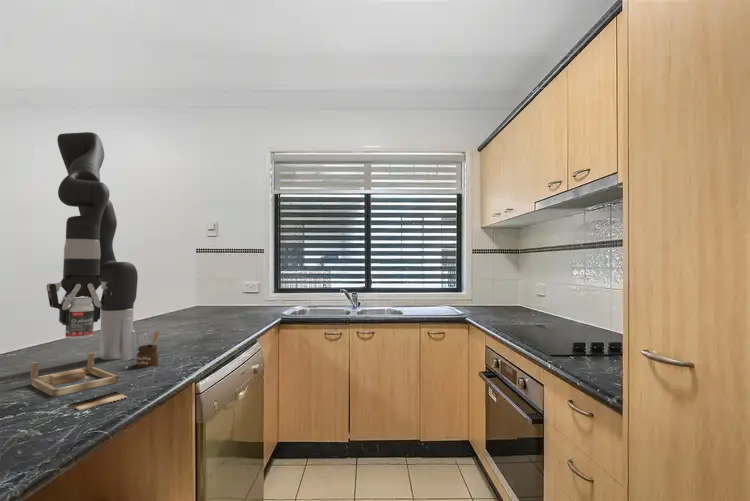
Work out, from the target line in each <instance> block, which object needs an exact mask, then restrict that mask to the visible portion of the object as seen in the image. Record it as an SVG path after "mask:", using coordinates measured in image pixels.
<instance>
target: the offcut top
mask: <svg viewBox="0 0 750 501" xmlns="http://www.w3.org/2000/svg"><path fill="white" fill-rule="evenodd" d="M79 369H80V370H76V369H73V370H74V371H70V370H68V371H69V372H65V371H62V372H63V373H60V372H57V373H58V374H55V373H51V374H52V375H50V374H49V375H50V381H49V382H50V383H51V384H53V386H56V385H55V384H58V385H61V384H60V383H63V384H66V383H65V382H67V383H71V382H70V381H72V382H76V381H75V380H77V381H81V380H80V379H82V380H85V375H86V374H85V371H84V370H82V369H81V368H79Z"/></svg>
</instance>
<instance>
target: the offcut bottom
mask: <svg viewBox="0 0 750 501" xmlns="http://www.w3.org/2000/svg"><path fill="white" fill-rule="evenodd" d="M90 378H91V377H90V376H87V374H85V379H90ZM85 379H84V380H85ZM81 380H83V379H80V380H79V381H81ZM76 381H77V382H78V380H75V381H74V382H76ZM72 382H73V381H70V382H69V383H72ZM45 383H46V384H48V385H50V386H52V387H54V386H58V385H63V384H66V383H68V382H65V383H60V384H55V385H53V384H51V383H50V381H49V382H45Z"/></svg>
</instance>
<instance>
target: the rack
mask: <svg viewBox="0 0 750 501" xmlns="http://www.w3.org/2000/svg"><path fill="white" fill-rule="evenodd" d="M80 369H82V370H84V371H85V375H87V374H92V375H94V376H97V377H99V379H96V380H91V381H90V380H89V381H87V382H86V381H85V382H81V383H77V384H76V383H75V384H72V385H71V384H70V385H68V386H63V387H59V388H56V387H55V386H50V385H48V384H46V383H48V382H50V375H52V374H53V373H50V374H46V375H45V374H44V375H40V376H39V362H38V361H34V362H30V379H29V380H30V382H29V383H30V385H31V386H33V387H34V388H35V389H38V390H40V391H41V392H43V393H44V394H47V395H49V396H51V397H52V398H56V397H61V396H64V395H69V394H75V393H78V392H81V391H83V392H84V391H86V390H91V389H94V388H95V389H96V388H99V387H104V386H107V385H112V384H116V383H119V375H116V374H115V373H111V372H109V371H107V370H106V371H105V370H103V369H101V368H98V367H95V353H94V352H87V367H81V368H77V369H71V370H65V371H61V372H56V373H54V374H58V373H63V372H69V371H74V370H80Z"/></svg>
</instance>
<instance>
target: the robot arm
mask: <svg viewBox="0 0 750 501" xmlns="http://www.w3.org/2000/svg"><path fill="white" fill-rule="evenodd" d="M56 139H57V146H58V151H59V153H60V156H61V158H62V161H63V164H64V167H65V170H66V172H67V176H65V177H64V178H63V179H62V181H60V184H59V186H58V189H57V196H58V199H59V200H60V202H61V203H62V204H64V205H65V206H68V207H75V208H78V212H79V215H74V216H70V217H68V218H67V219H66V223H65V224H66V226H65V227H66V228H65V241H64V242H65V243H64V248H63V269H62V273H63V274H62V279H61V281H60V282H57V283H47V285H46V292H47V298H48V303H49V307H51V308H54V309H58V311H59V312H58V313H59V314H58V322H59V323H60V324H61V325H63V326H66V325H68V318H69V310H67V309H68V308H69V307H70V306H71V304H70V303H71V302H72V301H73V299H74V298H82V297H83V298H86V297H89V298H92V300H93V302H92V303H91V306H93V307H94V323H98V321H99V320H100V338H99V339H100V345H99V346H100V347H99V349H100V350H99V360H100V359H101V360H105V361H106V360H107V361H108V360H118V359H120V360H125V361H130V360H133V359H136V333H137V332H136V330H135V329H134V305H135V301H136V299H137V293H138V292H137V290H138V282H139V280H138V279H139V277H138V276H139V274H138V270H137V268H136V266H135V265H134V264H133V263H131V262H129V261H117V260H116V256H115V253H114V249H113V245H114V244H113V242H114V238H115V235H116V231H117V227H118V226H117V225H118V221H117V215H116V212H115V208H114V204H113V203H112V201H111V199H110V189H109V187H108V186H107V184H105V183H104V182H102V181H101V179H100V177H101V174H100V170H101V168H102V165H103V162H104V159H105V149H104V146H103V142H102V140H101V138H100V136H99V134H97V133H94V132H93V131H92V132H89V131H86V132H84V131H83V132H69V133H67V132H66V133H59V134H58V136H57V138H56ZM100 287H101V290H102V294H101V298H100V299H99V295H98V293H97V292H96V291H97V290H98V289H99V288H100ZM60 288H62V289H63V291H65V294H64V295H63V297H62V299H61V302H60V303H59V297H58V292H59V291H60Z"/></svg>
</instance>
